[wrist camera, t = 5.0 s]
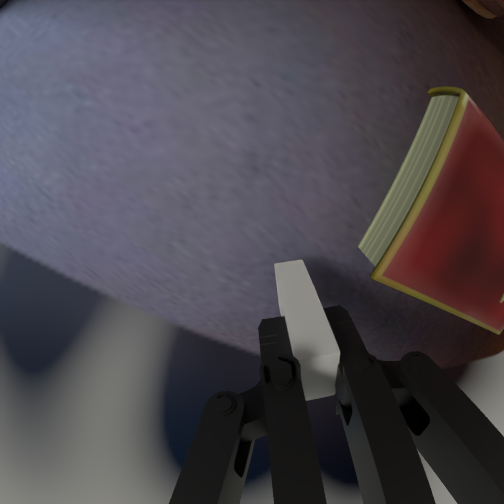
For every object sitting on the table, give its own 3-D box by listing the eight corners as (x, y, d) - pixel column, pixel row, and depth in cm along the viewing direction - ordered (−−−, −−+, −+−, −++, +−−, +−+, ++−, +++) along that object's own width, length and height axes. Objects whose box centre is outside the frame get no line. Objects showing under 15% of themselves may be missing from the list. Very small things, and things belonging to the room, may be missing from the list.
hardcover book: (425, 87, 12) (470, 86, 8) (531, 222, 16) (556, 239, 13) (347, 246, 17) (374, 282, 13) (480, 313, 21) (500, 336, 17)
